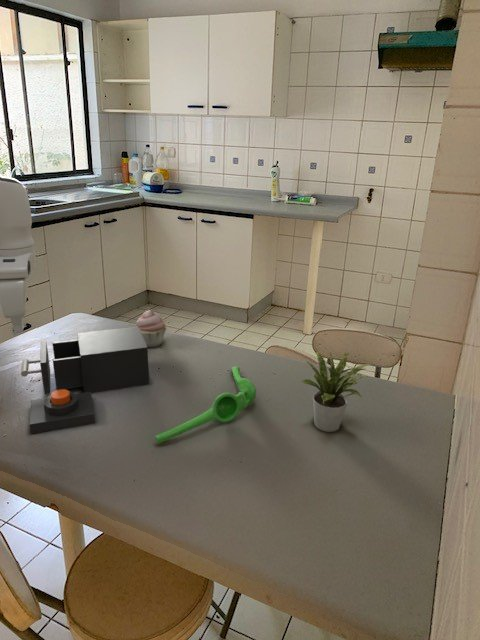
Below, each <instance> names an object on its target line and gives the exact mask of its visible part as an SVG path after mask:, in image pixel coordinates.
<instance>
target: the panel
mask: <svg viewBox="0 0 480 640" xmlns="http://www.w3.org/2000/svg"><path fill="white" fill-rule="evenodd" d="M69 392H70V402H68V403H66V404H64V405H53V404H52V401H51V394H48V395H47V396H46V397H45V398H40V399H33V400H30V409H29V424H28V425H29V431H30V434H31V435H32V434H39V433H44V432H51V431H55V430H56V431H57V430H61V429H62V430H63V429H66V428H67V429H68V428H73V427H74V428H75V427H79V426H86V425H90V424H95V423H96V420H95V419H96V418H95V417H96V416H95V411H94V403H93V397H92V393H91V392H85V393H84V392H79V393H75V392H74V391H69Z"/></svg>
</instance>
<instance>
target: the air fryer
mask: <svg viewBox="0 0 480 640" xmlns="http://www.w3.org/2000/svg"><path fill="white" fill-rule="evenodd" d="M76 336H77V339H78V343H79V350H80V357H81V367H82V376H83V386H82V387H83V393H85V392H91V394H93V393H97V392H98V393H99V392H106V391H111V390H117V389H124V388H130V387H139V386H144V385H145V386H146V385H150V372H149V371H150V369H149V368H150V367H149V351H148V349H149V347H147V345H146V343H145V340H144V338H143V336H142V334H141V331H140V329H139V327H134V326H131V327H129V326H128V327H120V328H113V329H112V328H111V329H103V330H94V331H93V330H92V331H84V332H77V335H76Z"/></svg>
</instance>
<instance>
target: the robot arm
mask: <svg viewBox="0 0 480 640" xmlns="http://www.w3.org/2000/svg"><path fill="white" fill-rule="evenodd" d="M32 224H33V218H32V210H31V205H30V200H29V195H28V192H27V189H26V187H25V185H24V184H23V183H22V182H21V181H19V180H18V179H16V178H14V177H10V176H7V175H2V174H0V310H1V313H2V315H3V317H4V318H5V319H10V322H11V326H12V331H13V332H14V333H22V332H23V331H24V322H23V317H24V316H26V312H27V311H26V306H27V299H28V291H29V276H31V275H32V270H34V269H35V268H36V267H37V266H38V265H37V258H36V256H37V255H36V246H35V240H34V238H33V236H32Z"/></svg>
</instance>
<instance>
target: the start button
mask: <svg viewBox="0 0 480 640" xmlns="http://www.w3.org/2000/svg"><path fill="white" fill-rule="evenodd" d="M70 392H71V391H70V390H68V389H60V390H57V389H56V390H54V391H53V392H51V393H50V395H51V401H52V404H53V405H64V404H66V403H68V402H70Z"/></svg>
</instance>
